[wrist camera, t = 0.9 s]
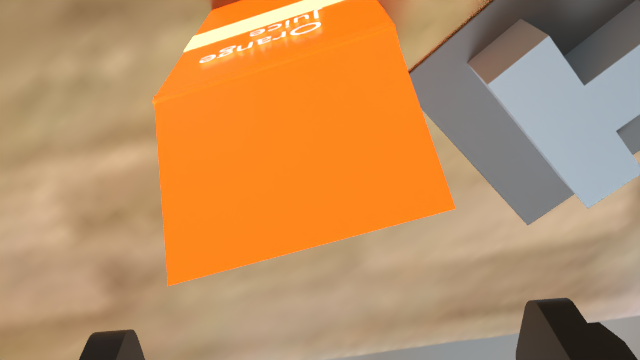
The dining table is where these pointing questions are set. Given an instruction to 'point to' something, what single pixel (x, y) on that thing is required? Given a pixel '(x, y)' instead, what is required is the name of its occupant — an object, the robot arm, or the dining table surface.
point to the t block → (572, 98)
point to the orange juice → (289, 135)
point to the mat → (487, 113)
